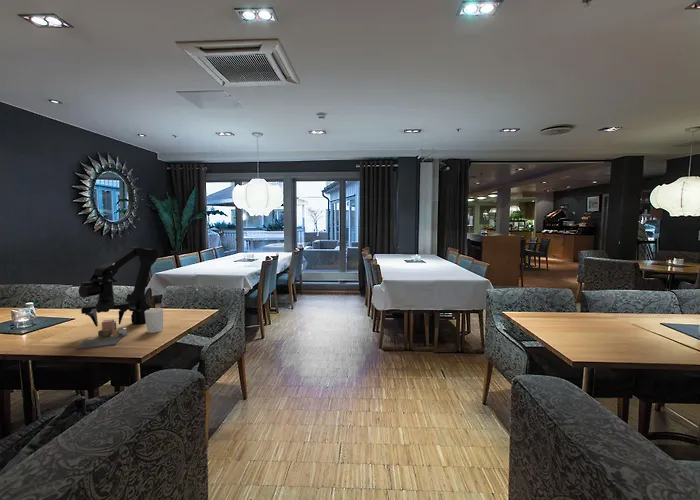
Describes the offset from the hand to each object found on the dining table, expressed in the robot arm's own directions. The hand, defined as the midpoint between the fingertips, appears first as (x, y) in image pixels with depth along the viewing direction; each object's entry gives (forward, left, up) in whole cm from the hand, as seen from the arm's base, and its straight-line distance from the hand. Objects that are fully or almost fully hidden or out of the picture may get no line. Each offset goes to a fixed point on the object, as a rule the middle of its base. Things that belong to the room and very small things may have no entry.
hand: (108, 325), depth 165 cm
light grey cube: (-7, +7, -4) cm, 10 cm away
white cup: (-20, +4, -4) cm, 21 cm away
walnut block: (0, +6, -4) cm, 7 cm away
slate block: (0, -6, -4) cm, 7 cm away
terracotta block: (0, 0, -4) cm, 4 cm away
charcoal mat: (0, +14, -4) cm, 15 cm away
